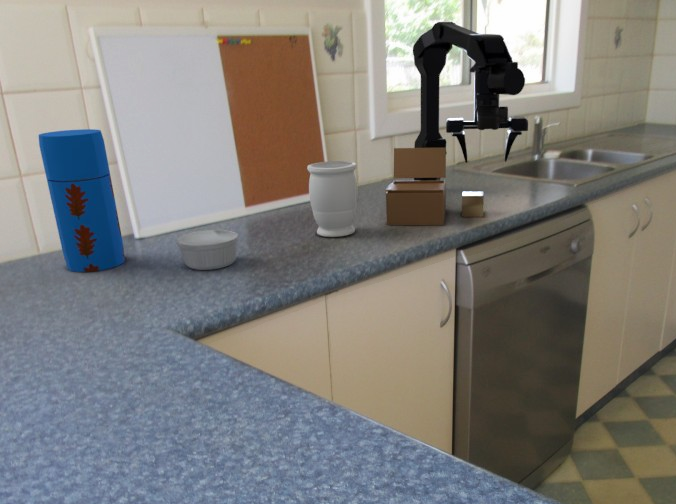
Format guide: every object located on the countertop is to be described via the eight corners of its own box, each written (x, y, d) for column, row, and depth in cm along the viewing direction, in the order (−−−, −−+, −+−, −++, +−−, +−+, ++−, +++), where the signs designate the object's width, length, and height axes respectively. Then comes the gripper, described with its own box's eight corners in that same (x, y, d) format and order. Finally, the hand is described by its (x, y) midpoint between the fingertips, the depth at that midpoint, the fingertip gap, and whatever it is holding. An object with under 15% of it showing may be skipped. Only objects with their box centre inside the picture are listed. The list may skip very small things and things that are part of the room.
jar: (331, 224, 153) (327, 159, 148) (368, 229, 148) (365, 162, 143) (302, 236, 144) (296, 166, 139) (341, 241, 139) (336, 170, 134)
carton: (394, 210, 165) (393, 177, 162) (445, 210, 164) (445, 177, 161) (386, 225, 151) (385, 190, 148) (442, 225, 150) (442, 189, 147)
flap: (393, 177, 162) (393, 178, 162) (445, 177, 161) (445, 177, 161) (393, 148, 162) (394, 148, 162) (445, 147, 160) (445, 147, 161)
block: (461, 216, 157) (462, 195, 155) (462, 211, 161) (462, 191, 160) (483, 216, 156) (483, 195, 154) (483, 211, 161) (483, 191, 159)
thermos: (61, 274, 124) (30, 138, 115) (71, 258, 133) (44, 131, 124) (123, 268, 126) (97, 134, 117) (128, 253, 136) (106, 127, 127)
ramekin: (253, 259, 129) (250, 232, 128) (210, 275, 120) (207, 247, 119) (211, 252, 135) (208, 226, 133) (168, 267, 126) (164, 240, 124)
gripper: (446, 97, 145) (446, 168, 151) (532, 94, 144) (529, 166, 149) (446, 93, 156) (446, 160, 161) (526, 91, 154) (523, 159, 160)
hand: (485, 162), depth 158 cm, fingers open, 9 cm apart
